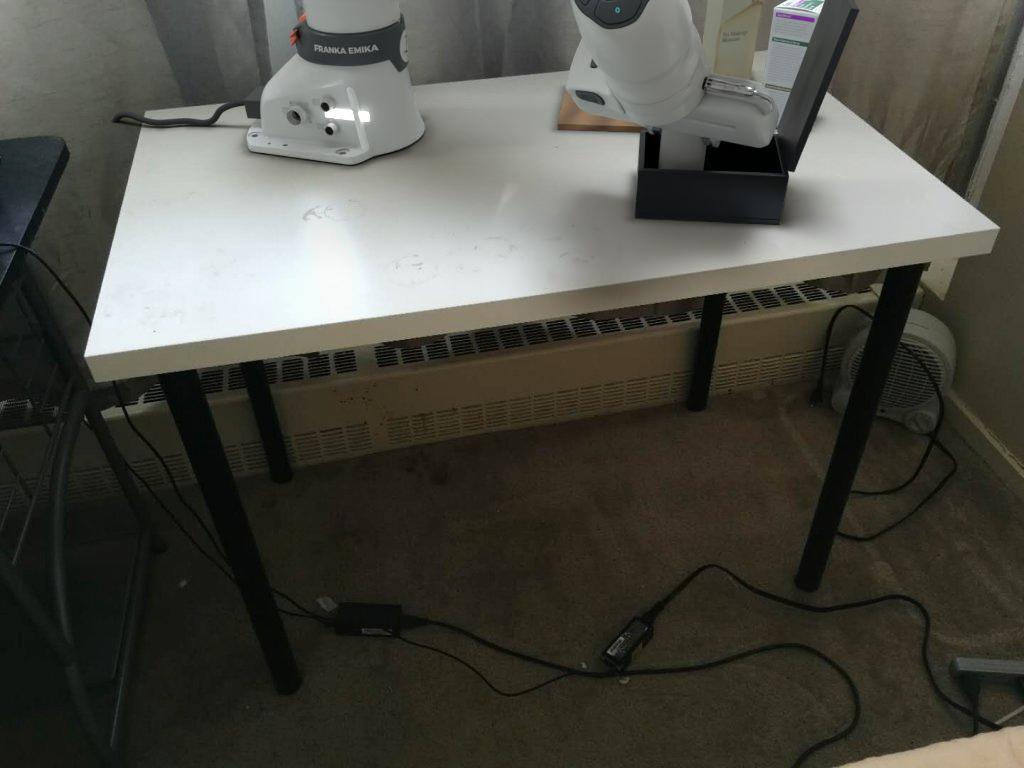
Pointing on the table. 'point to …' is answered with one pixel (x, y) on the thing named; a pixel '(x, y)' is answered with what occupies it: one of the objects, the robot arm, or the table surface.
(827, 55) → the lid
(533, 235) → the table surface
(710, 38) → the cosmetic box
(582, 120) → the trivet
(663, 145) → the beverage can
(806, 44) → the syrup box
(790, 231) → the table surface
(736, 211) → the black open box
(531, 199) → the table surface
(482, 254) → the table surface
